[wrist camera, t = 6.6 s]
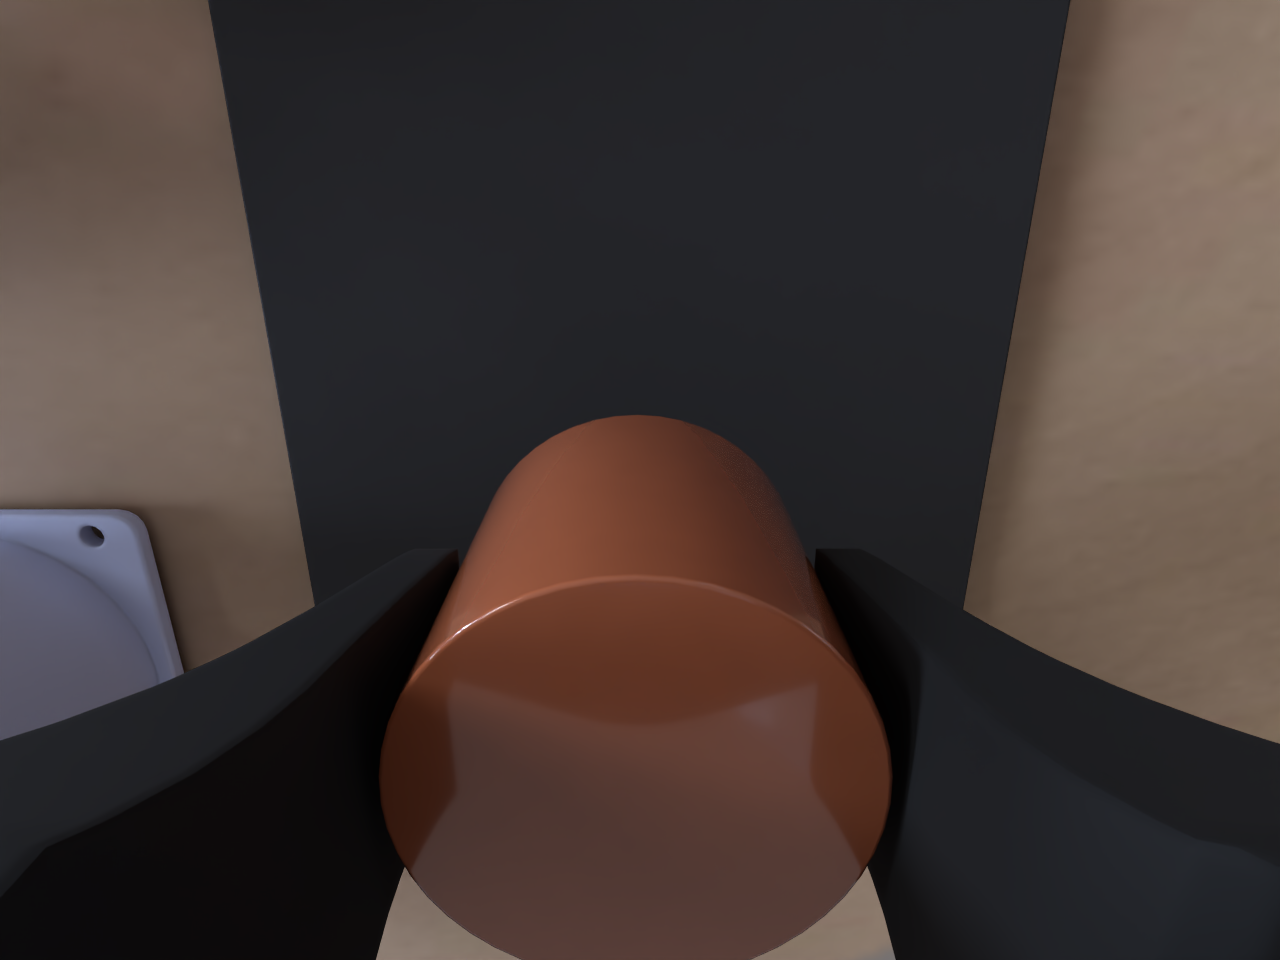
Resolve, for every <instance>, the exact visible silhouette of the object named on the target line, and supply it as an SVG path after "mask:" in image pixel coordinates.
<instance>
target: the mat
mask: <svg viewBox="0 0 1280 960" xmlns="http://www.w3.org/2000/svg"><path fill="white" fill-rule="evenodd" d="M208 2H209V8H210V14H211V19H212V25H213V31H214V36H215V42H216V48H217V53H218V59H219V65H220V70H221V76H222V82H223V87H224V93H225V99H226V104H227V110H228V116H229V121H230V127H231V133H232V138H233V144H234V150H235V155H236V161H237V167H238V172H239V178H240V184H241V189H242V195H243V201H244V206H245V212H246V218H247V223H248V229H249V235H250V240H251V246H252V252H253V257H254V263H255V269H256V274H257V280H258V286H259V291H260V297H261V303H262V308H263V314H264V320H265V325H266V331H267V337H268V342H269V348H270V354H271V359H272V365H273V371H274V376H275V382H276V388H277V393H278V399H279V405H280V410H281V416H282V422H283V427H284V433H285V439H286V444H287V450H288V456H289V461H290V467H291V473H292V478H293V484H294V490H295V495H296V501H297V507H298V512H299V518H300V524H301V529H302V535H303V541H304V546H305V552H306V558H307V563H308V569H309V575H310V580H311V586H312V592H313V597H314V603H315V606H317V605H318V604H320V603H322V602H323V601H325V600H327V599H328V598H330V597H332V596H333V595H335V594H337V593H338V592H340V591H341V590H343V589H345V588H346V587H348V586H350V585H351V584H353V583H355V582H356V581H358V580H360V579H361V578H363V577H364V576H366V575H368V574H369V573H371V572H373V571H374V570H376V569H378V568H379V567H381V566H383V565H384V564H386V563H388V562H389V561H391V560H393V559H395V558H396V557H398V556H400V555H402V554H404V553H406V552H408V551H410V550H413V549H458V556H459V567H461V565H462V563H463V560H464V558H465V556H466V554H467V552H468V550H469V548H470V546H471V544H472V542H473V539H474V537H475V535H476V533H477V531H478V529H479V527H480V525H481V523H482V520H483V518H484V516H485V514H486V512H487V510H488V508H489V506H490V504H491V502H492V499H493V497H494V495H495V493H496V492H497V490H498V489H499V487H500V486H501V484H502V483H503V481H504V479H505V478H506V477H507V475H508V474H509V473H510V472H511V471H512V470H513V469H514V467H515V466H516V465H517V464H518V463H519V462H520V461H521V460H522V459H523V458H524V457H526V456H527V455H528V454H529V453H530V452H531V451H532V450H534V449H535V448H536V447H538V446H539V445H541V444H542V443H544V442H545V441H547V440H548V439H550V438H551V437H553V436H555V435H557V434H559V433H561V432H563V431H566V430H568V429H570V428H572V427H575V426H578V425H581V424H584V423H587V422H590V421H593V420H598V419H603V418H609V417H614V416H627V415H647V416H661V417H666V418H671V419H676V420H681V421H684V422H687V423H690V424H693V425H697V426H700V427H702V428H705V429H707V430H709V431H711V432H713V433H715V434H717V435H719V436H721V437H723V438H724V439H726V440H727V441H729V442H730V443H732V444H734V445H735V446H737V447H738V448H740V449H741V450H742V451H743V452H744V453H745V454H746V455H748V456H749V457H750V458H751V459H752V460H753V461H755V462H756V464H757V465H758V466H759V467H760V468H761V469H762V470H763V472H764V473H765V474H766V475H767V476H768V477H769V479H770V480H771V482H772V483H773V485H774V487H775V488H776V490H777V491H778V493H779V494H780V497H781V499H782V501H783V503H784V505H785V507H786V510H787V512H788V514H789V516H790V518H791V520H792V523H793V525H794V527H795V529H796V531H797V534H798V536H799V538H800V540H801V542H802V544H803V547H804V549H805V551H806V553H807V555H808V558H809V560H810V562H811V564H812V566H813V568H814V565H815V554H816V549H862V550H864V551H866V552H868V553H870V554H872V555H874V556H876V557H877V558H879V559H881V560H883V561H884V562H886V563H888V564H889V565H891V566H893V567H894V568H896V569H897V570H899V571H901V572H902V573H904V574H906V575H907V576H909V577H910V578H912V579H914V580H915V581H917V582H918V583H920V584H922V585H923V586H925V587H926V588H928V589H930V590H931V591H933V592H934V593H936V594H938V595H939V596H941V597H943V598H944V599H946V600H948V601H949V602H951V603H953V604H954V605H956V606H958V607H959V608H961V609H963V606H964V600H965V594H966V589H967V583H968V577H969V572H970V566H971V560H972V555H973V549H974V543H975V538H976V532H977V526H978V521H979V515H980V509H981V504H982V498H983V492H984V487H985V481H986V475H987V470H988V464H989V458H990V453H991V447H992V441H993V436H994V430H995V424H996V419H997V413H998V407H999V402H1000V396H1001V390H1002V385H1003V379H1004V373H1005V368H1006V362H1007V356H1008V351H1009V345H1010V339H1011V334H1012V328H1013V322H1014V317H1015V311H1016V305H1017V300H1018V294H1019V288H1020V283H1021V277H1022V271H1023V266H1024V260H1025V254H1026V249H1027V243H1028V237H1029V232H1030V226H1031V220H1032V214H1033V209H1034V203H1035V197H1036V192H1037V186H1038V180H1039V175H1040V169H1041V163H1042V158H1043V152H1044V146H1045V141H1046V135H1047V129H1048V124H1049V118H1050V112H1051V107H1052V101H1053V95H1054V90H1055V84H1056V78H1057V73H1058V67H1059V61H1060V56H1061V50H1062V44H1063V39H1064V33H1065V27H1066V22H1067V16H1068V10H1069V5H1070V0H208Z"/></svg>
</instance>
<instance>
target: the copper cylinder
mask: <svg viewBox="0 0 1280 960" xmlns="http://www.w3.org/2000/svg"><path fill="white" fill-rule="evenodd" d="M378 776H379V789H380V802H381V807H382V811H383V815H384V819H385V823H386V827H387V830H388V833H389V835H390V838H391V840H392V842H393V845H394V847H395V850H396V852H397V854H398V856H399V857H400V859H401V861H402V862H403V864H404V866H405V867H406V869H407V871H408V872H409V874H410V876H411V877H412V878H413V880H414V881H415V882H416V883H417V884H418V886H419V887H420V888H421V889H422V891H423V892H424V893H425V894H426V896H427V897H428V898H429V899H430V900H431V901H432V902H433V903H434V904H435V905H436V906H438V907H439V908H440V909H441V910H442V911H443V912H444V913H445V914H446V915H447V916H448V917H449V918H451V919H452V920H453V921H455V922H456V923H457V924H459V925H460V926H461V927H463V928H464V929H465V930H467V931H468V932H469V933H471V934H473V935H474V936H476V937H478V938H480V939H481V940H483V941H485V942H486V943H488V944H490V945H491V946H493V947H495V948H497V949H499V950H502V951H504V952H506V953H508V954H510V955H513V956H515V957H517V958H519V959H522V960H751V959H753V958H755V957H757V956H760V955H762V954H764V953H766V952H768V951H771V950H773V949H775V948H777V947H779V946H781V945H782V944H784V943H786V942H787V941H789V940H791V939H793V938H794V937H796V936H798V935H799V934H801V933H803V932H804V931H805V930H807V929H808V928H809V927H811V926H812V925H813V924H815V923H816V922H817V921H819V920H820V919H821V918H823V917H824V916H825V915H826V914H827V913H828V912H829V911H830V910H831V909H832V908H833V907H834V906H835V905H836V904H838V903H839V902H840V901H841V900H842V899H843V898H844V897H845V895H846V894H847V893H848V892H849V890H850V889H851V888H852V887H853V886H854V884H855V883H856V882H857V881H858V879H859V878H860V877H861V875H862V874H863V872H864V870H865V869H866V867H867V865H868V864H869V862H870V860H871V859H872V857H873V855H874V854H875V851H876V849H877V846H878V844H879V842H880V839H881V837H882V834H883V832H884V829H885V826H886V821H887V817H888V813H889V809H890V804H891V796H892V781H893V768H892V758H891V748H890V744H889V740H888V736H887V733H886V729H885V725H884V722H883V719H882V717H881V715H880V712H879V710H878V708H877V706H876V704H875V702H874V699H873V697H872V695H871V693H870V691H869V688H868V686H867V684H866V682H865V680H864V678H863V675H862V673H861V671H860V669H859V667H858V664H857V662H856V660H855V658H854V656H853V654H852V651H851V649H850V647H849V645H848V643H847V640H846V638H845V636H844V634H843V632H842V630H841V627H840V625H839V623H838V621H837V619H836V616H835V614H834V612H833V610H832V608H831V606H830V603H829V601H828V599H827V597H826V595H825V592H824V590H823V588H822V586H821V584H820V582H819V579H818V577H817V575H816V573H815V571H814V568H813V566H812V564H811V562H810V560H809V558H808V555H807V553H806V551H805V549H804V547H803V544H802V542H801V540H800V538H799V536H798V534H797V531H796V529H795V527H794V525H793V523H792V520H791V518H790V516H789V514H788V512H787V510H786V507H785V505H784V503H783V501H782V499H781V497H780V494H779V493H778V491H777V490H776V488H775V487H774V485H773V483H772V482H771V480H770V479H769V477H768V476H767V475H766V474H765V473H764V472H763V470H762V469H761V468H760V467H759V466H758V465H757V464H756V462H755V461H753V460H752V459H751V458H750V457H749V456H748V455H746V454H745V453H744V452H743V451H742V450H741V449H740V448H738V447H737V446H735V445H734V444H732V443H730V442H729V441H727V440H726V439H724V438H723V437H721V436H719V435H717V434H715V433H713V432H711V431H709V430H707V429H705V428H702V427H700V426H697V425H693V424H690V423H687V422H684V421H681V420H676V419H671V418H666V417H661V416H647V415H627V416H614V417H609V418H603V419H598V420H593V421H590V422H587V423H584V424H581V425H578V426H575V427H572V428H570V429H568V430H566V431H563V432H561V433H559V434H557V435H555V436H553V437H551V438H550V439H548V440H547V441H545V442H544V443H542V444H541V445H539V446H538V447H536V448H535V449H534V450H532V451H531V452H530V453H529V454H528V455H527V456H526V457H524V458H523V459H522V460H521V461H520V462H519V463H518V464H517V465H516V466H515V467H514V469H513V470H512V471H511V472H510V473H509V474H508V475H507V477H506V478H505V479H504V481H503V483H502V484H501V486H500V487H499V489H498V490H497V492H496V493H495V495H494V497H493V499H492V502H491V504H490V506H489V508H488V510H487V512H486V514H485V516H484V518H483V520H482V523H481V525H480V527H479V529H478V531H477V533H476V535H475V537H474V539H473V542H472V544H471V546H470V548H469V550H468V552H467V554H466V556H465V558H464V560H463V563H462V565H461V567H460V569H459V571H458V573H457V575H456V577H455V579H454V581H453V584H452V586H451V588H450V590H449V592H448V594H447V596H446V598H445V600H444V603H443V605H442V607H441V609H440V611H439V613H438V615H437V617H436V619H435V621H434V624H433V626H432V628H431V630H430V632H429V634H428V636H427V638H426V640H425V642H424V645H423V647H422V649H421V651H420V653H419V655H418V657H417V659H416V661H415V664H414V666H413V668H412V670H411V672H410V674H409V676H408V678H407V680H406V682H405V685H404V687H403V689H402V691H401V693H400V695H399V697H398V700H397V702H396V704H395V706H394V708H393V710H392V713H391V715H390V717H389V719H388V722H387V726H386V730H385V733H384V737H383V741H382V745H381V751H380V762H379V772H378Z"/></svg>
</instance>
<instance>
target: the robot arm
mask: <svg viewBox="0 0 1280 960" xmlns="http://www.w3.org/2000/svg"><path fill="white" fill-rule="evenodd" d="M92 526H94V527H96V528H98V529H99V530H100V531H101V532H102V534H103V535H104V539H101V538H99V537H98V536H97V535H95V533H94V532H93V530H92ZM459 569H460V567H459V556H458V549H413V550H410V551H408V552H406V553H404V554H402V555H400V556H398V557H396V558H395V559H393V560H391V561H389V562H388V563H386V564H384V565H383V566H381V567H379V568H378V569H376V570H374V571H373V572H371V573H369V574H368V575H366V576H364V577H363V578H361V579H360V580H358V581H356V582H355V583H353V584H351V585H350V586H348V587H346V588H345V589H343V590H341V591H340V592H338V593H337V594H335V595H333V596H332V597H330V598H328V599H327V600H325V601H323V602H322V603H320V604H318V605H317V606H315V607H313V608H311V609H310V610H308V611H306V612H304V613H302V614H301V615H299V616H297V617H295V618H293V619H291V620H290V621H288V622H286V623H284V624H282V625H281V626H279V627H277V628H275V629H273V630H272V631H270V632H268V633H266V634H264V635H262V636H261V637H259V638H257V639H255V640H253V641H252V642H250V643H248V644H246V645H244V646H242V647H240V648H238V649H236V650H234V651H232V652H230V653H227V654H225V655H223V656H221V657H219V658H217V659H215V660H213V661H211V662H208V663H206V664H204V665H202V666H199V667H197V668H195V669H193V670H190V671H188V672H186V673H184V671H183V667H182V663H181V659H180V655H179V651H178V648H177V644H176V640H175V636H174V632H173V628H172V624H171V620H170V616H169V613H168V609H167V605H166V601H165V597H164V593H163V589H162V585H161V581H160V578H159V574H158V570H157V566H156V562H155V558H154V554H153V550H152V546H151V543H150V539H149V535H148V531H147V528H146V526H145V524H144V522H143V521H142V520H141V519H140V518H139V517H138V516H137V515H135V514H133V513H131V512H130V511H126V510H120V509H0V960H376V957H377V953H378V950H379V946H380V942H381V939H382V935H383V931H384V928H385V924H386V920H387V917H388V913H389V910H390V907H391V904H392V901H393V898H394V896H395V893H396V890H397V887H398V884H399V881H400V878H401V875H402V873H403V870H404V867H405V866H404V864H403V862H402V861H401V859H400V857H399V856H398V854H397V852H396V850H395V847H394V845H393V842H392V840H391V838H390V835H389V833H388V830H387V827H386V823H385V819H384V815H383V811H382V807H381V802H380V789H379V776H378V772H379V762H380V751H381V745H382V741H383V737H384V733H385V730H386V726H387V722H388V719H389V717H390V715H391V713H392V710H393V708H394V706H395V704H396V702H397V700H398V697H399V695H400V693H401V691H402V689H403V687H404V685H405V682H406V680H407V678H408V676H409V674H410V672H411V670H412V668H413V666H414V664H415V661H416V659H417V657H418V655H419V653H420V651H421V649H422V647H423V645H424V642H425V640H426V638H427V636H428V634H429V632H430V630H431V628H432V626H433V624H434V621H435V619H436V617H437V615H438V613H439V611H440V609H441V607H442V605H443V603H444V600H445V598H446V596H447V594H448V592H449V590H450V588H451V586H452V584H453V581H454V579H455V577H456V575H457V573H458V571H459ZM814 571H815V573H816V575H817V577H818V579H819V582H820V584H821V586H822V588H823V590H824V592H825V595H826V597H827V599H828V601H829V603H830V606H831V608H832V610H833V612H834V614H835V616H836V619H837V621H838V623H839V625H840V627H841V630H842V632H843V634H844V636H845V638H846V640H847V643H848V645H849V647H850V649H851V651H852V654H853V656H854V658H855V660H856V662H857V664H858V667H859V669H860V671H861V673H862V675H863V678H864V680H865V682H866V684H867V686H868V688H869V691H870V693H871V695H872V697H873V699H874V702H875V704H876V706H877V708H878V710H879V712H880V715H881V717H882V719H883V722H884V725H885V729H886V733H887V736H888V740H889V744H890V748H891V758H892V768H893V781H892V796H891V804H890V809H889V813H888V817H887V821H886V826H885V829H884V832H883V834H882V837H881V839H880V842H879V844H878V846H877V849H876V851H875V854H874V855H873V857H872V859H871V860H870V862H869V864H868V865H867V866H868V869H869V872H870V874H871V877H872V880H873V883H874V886H875V889H876V892H877V895H878V898H879V901H880V904H881V907H882V910H883V913H884V917H885V921H886V924H887V928H888V932H889V936H890V940H891V943H892V947H893V951H894V955H895V959H896V960H1280V744H1279V743H1275V742H1272V741H1269V740H1265V739H1262V738H1259V737H1256V736H1253V735H1250V734H1247V733H1244V732H1241V731H1237V730H1234V729H1231V728H1228V727H1225V726H1222V725H1219V724H1216V723H1213V722H1210V721H1208V720H1205V719H1202V718H1199V717H1197V716H1194V715H1191V714H1188V713H1185V712H1183V711H1180V710H1177V709H1174V708H1172V707H1169V706H1166V705H1163V704H1161V703H1158V702H1155V701H1152V700H1150V699H1147V698H1145V697H1142V696H1140V695H1137V694H1135V693H1132V692H1129V691H1127V690H1124V689H1122V688H1119V687H1117V686H1115V685H1112V684H1110V683H1108V682H1105V681H1103V680H1101V679H1099V678H1096V677H1094V676H1092V675H1090V674H1087V673H1085V672H1083V671H1081V670H1078V669H1076V668H1074V667H1072V666H1069V665H1067V664H1065V663H1063V662H1060V661H1058V660H1056V659H1054V658H1052V657H1050V656H1048V655H1046V654H1044V653H1042V652H1040V651H1038V650H1036V649H1034V648H1032V647H1030V646H1028V645H1026V644H1024V643H1022V642H1020V641H1019V640H1017V639H1015V638H1013V637H1011V636H1009V635H1007V634H1005V633H1004V632H1002V631H1000V630H998V629H996V628H994V627H992V626H990V625H989V624H987V623H985V622H983V621H982V620H980V619H978V618H976V617H975V616H973V615H971V614H969V613H968V612H966V611H964V610H963V609H961V608H959V607H958V606H956V605H954V604H953V603H951V602H949V601H948V600H946V599H944V598H943V597H941V596H939V595H938V594H936V593H934V592H933V591H931V590H930V589H928V588H926V587H925V586H923V585H922V584H920V583H918V582H917V581H915V580H914V579H912V578H910V577H909V576H907V575H906V574H904V573H902V572H901V571H899V570H897V569H896V568H894V567H893V566H891V565H889V564H888V563H886V562H884V561H883V560H881V559H879V558H877V557H876V556H874V555H872V554H870V553H868V552H866V551H864V550H862V549H816V554H815V565H814Z"/></svg>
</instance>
